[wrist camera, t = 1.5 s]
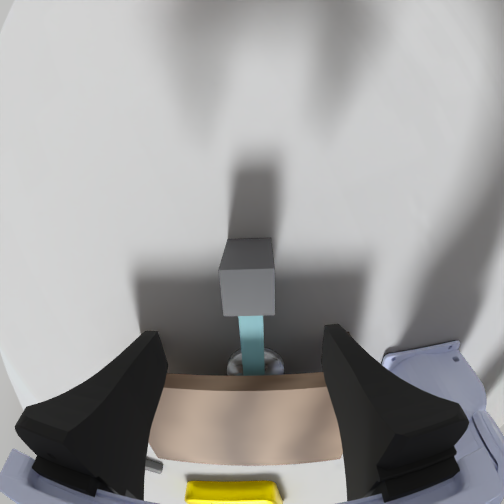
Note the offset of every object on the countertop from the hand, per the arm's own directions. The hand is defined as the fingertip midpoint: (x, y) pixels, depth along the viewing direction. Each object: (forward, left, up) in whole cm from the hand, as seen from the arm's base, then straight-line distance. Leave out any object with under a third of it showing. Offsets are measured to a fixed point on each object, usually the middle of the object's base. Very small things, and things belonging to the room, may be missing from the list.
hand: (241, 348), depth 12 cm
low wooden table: (+1, +13, -10) cm, 16 cm away
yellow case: (+4, +46, -10) cm, 47 cm away
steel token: (0, +10, -10) cm, 14 cm away
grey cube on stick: (0, +7, -10) cm, 12 cm away
